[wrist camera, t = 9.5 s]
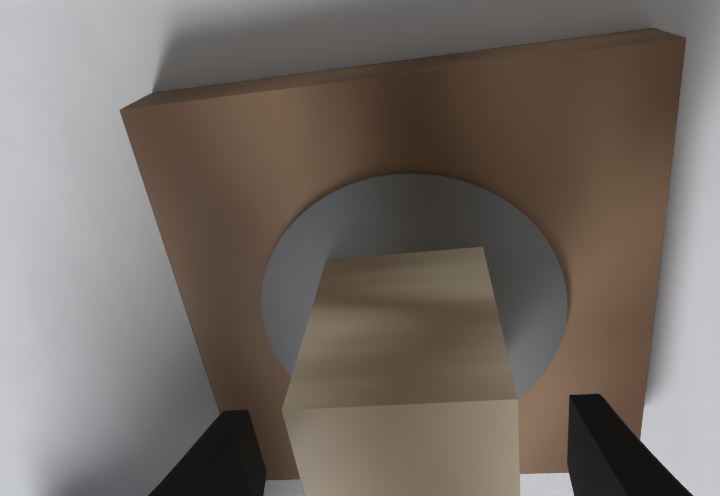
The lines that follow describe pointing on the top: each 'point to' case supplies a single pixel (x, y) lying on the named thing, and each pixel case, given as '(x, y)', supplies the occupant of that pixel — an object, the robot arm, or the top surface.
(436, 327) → the maple block
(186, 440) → the top surface
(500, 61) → the walnut base
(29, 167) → the top surface
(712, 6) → the top surface
